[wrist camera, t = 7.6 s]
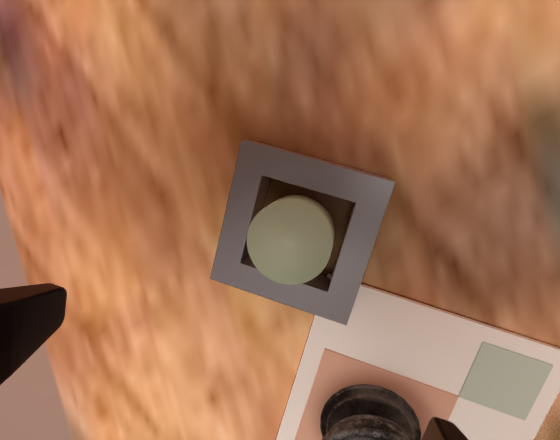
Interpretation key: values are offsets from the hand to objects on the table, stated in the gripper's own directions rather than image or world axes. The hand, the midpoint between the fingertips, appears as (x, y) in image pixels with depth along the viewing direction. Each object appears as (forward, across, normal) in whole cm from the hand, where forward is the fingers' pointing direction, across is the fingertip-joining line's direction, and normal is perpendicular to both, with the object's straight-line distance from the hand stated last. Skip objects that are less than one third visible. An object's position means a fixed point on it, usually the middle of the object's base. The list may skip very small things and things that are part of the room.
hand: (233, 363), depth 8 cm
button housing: (+11, 0, -1) cm, 11 cm away
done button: (+9, 0, -1) cm, 9 cm away
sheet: (+11, -8, +7) cm, 15 cm away
